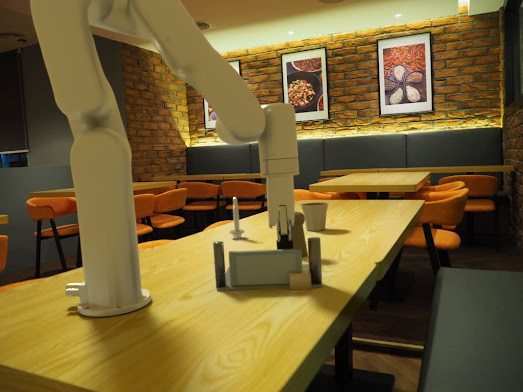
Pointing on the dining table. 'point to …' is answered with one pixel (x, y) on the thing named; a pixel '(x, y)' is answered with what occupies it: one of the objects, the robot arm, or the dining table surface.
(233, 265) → the gate
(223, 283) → the hinge post
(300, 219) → the cork
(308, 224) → the flower pot
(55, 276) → the dining table surface
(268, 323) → the dining table surface
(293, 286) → the stile
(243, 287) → the mat
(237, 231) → the screw
